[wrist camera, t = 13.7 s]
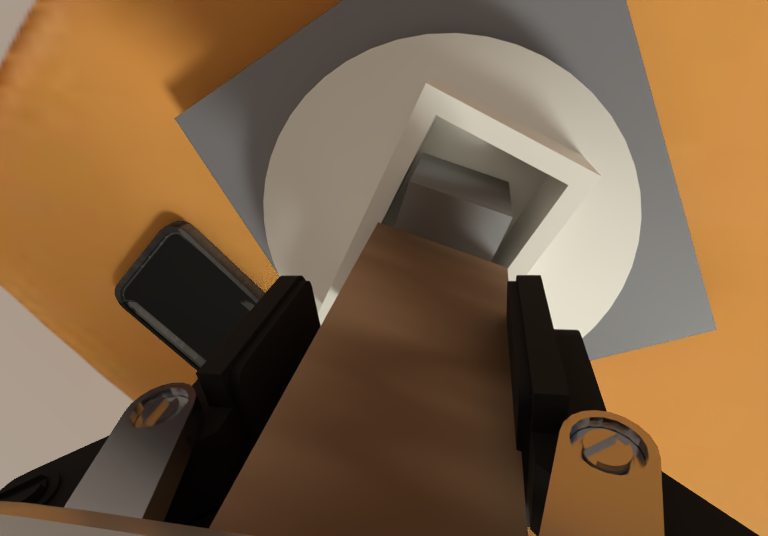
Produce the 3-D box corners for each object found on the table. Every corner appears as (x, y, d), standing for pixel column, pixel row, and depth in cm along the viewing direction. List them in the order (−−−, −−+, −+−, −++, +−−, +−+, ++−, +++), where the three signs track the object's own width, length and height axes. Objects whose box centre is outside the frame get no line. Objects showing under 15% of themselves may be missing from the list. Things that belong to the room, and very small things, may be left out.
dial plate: (700, 310, 19) (719, 332, 18) (377, 395, 25) (370, 416, 24) (570, -147, 13) (581, -171, 12) (195, 113, 20) (171, 119, 18)
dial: (354, -43, 14) (305, -78, 10) (716, 151, 15) (800, 189, 11) (249, 273, 21) (196, 324, 17) (495, 399, 22) (498, 477, 18)
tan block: (523, 186, 14) (611, 616, 4) (449, 337, 18) (397, 758, 8) (409, 147, 14) (210, 464, 4) (360, 305, 18) (193, 675, 8)
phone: (289, 449, 28) (107, 295, 25) (296, 436, 29) (121, 286, 26) (371, 402, 25) (171, 216, 22) (375, 388, 26) (184, 209, 23)
